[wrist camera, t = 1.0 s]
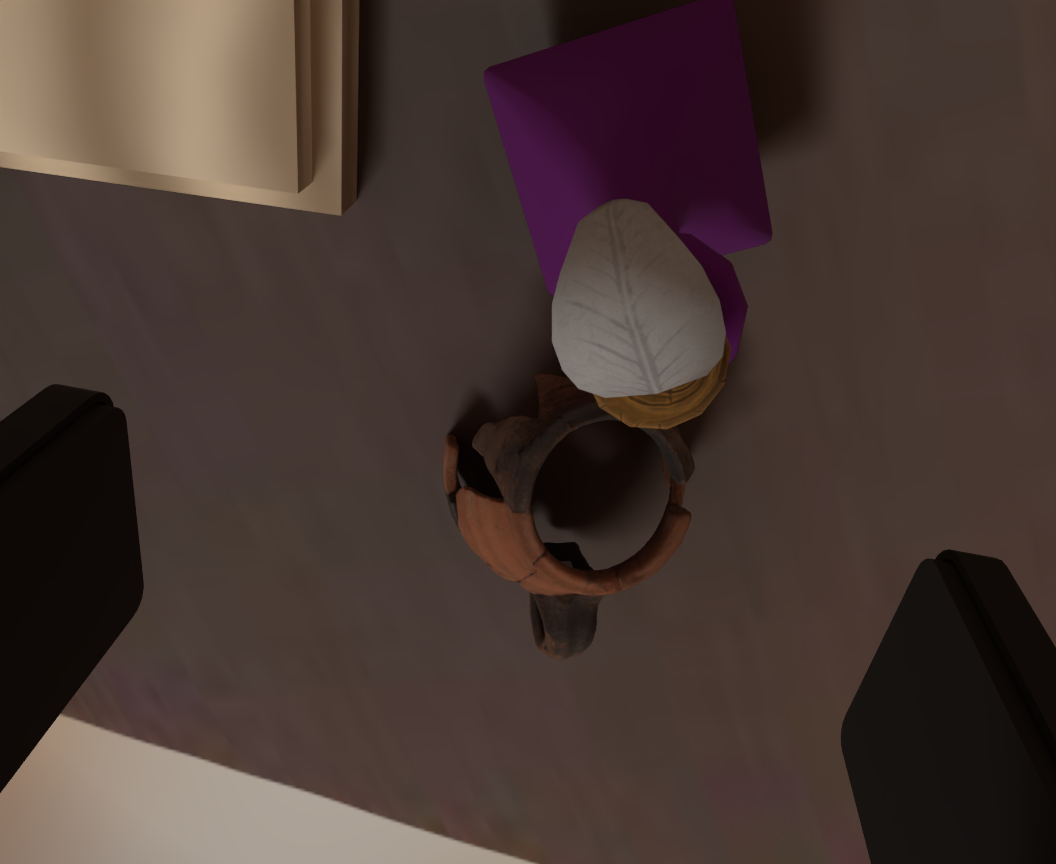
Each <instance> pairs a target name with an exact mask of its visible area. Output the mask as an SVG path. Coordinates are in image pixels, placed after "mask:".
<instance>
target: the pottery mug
mask: <svg viewBox="0 0 1056 864" xmlns="http://www.w3.org/2000/svg"><path fill="white" fill-rule="evenodd" d="M534 379H535V381H536V382H537V386H538V399H539V417H538V418H531V417H527V416H524V415H518V416H510V417H507V418H505V419H503V420H501V421H499V422H488V423H485V424H483V425H482V426H481V428H480V429H479V431H478V432H477V434H476V435H475V437H474V439H473V441H472V446H473V448H474V449H475V450H477V451H478V452H479V453H480V455H482V456H484V460H485V464H486V466H487V468H488V470H489V472H490V473H491V475H492V476H493V477H494V479H495V481H496V483H497V485H498V487H499V489H500V491H501V494H502V496H503V498H494V497H490V496H487V495H484V494H482V493H480V492H479V491H477V490H476V489H474V488H471V487H464V488H461V485H460V483H459V479H458V475H457V466H458V457H459V446H458V444H457V439H456V437H455V436H454V435H452V434H449V435H447V437H446V439H445V445H444V456H443V470H444V486H445V489H446V496H447V499H448V505H449V508H450V512H451V514H452V516H453V518H454V520H455V522H456V525H457V527H458V528H459V530H460V532H461V533H462V535H463V537H464V539H465V541H466V542H467V544H468V545H469V546H470V548H471V549H472V550H473V552H474V553H476V554H478V555H479V557H480V558H481V559H482V560H483V561H485V562H486V563H487V565H488V566H489V567H490V568H491V569H492V570H493V571H494V572H496V573H497V574H498V575H500V576H502V577H503V578H504V579H506V580H508V581H510V582H518V583H519V584H520V586H521V587H522V588H524V589H526V590H527V591H529V594H530V614H531V622H532V629H533V635H534V638H535V643H536V646H537V647H538V649H539V650H541V651H542V652H543V653H544V654H545V655H547V656H548V657H551V658H554V659H556V660H564V659H567V658H569V657H576V656H578V655H580V654H581V653H582V652H583V651H584V650H586V649H587V648H588V647H589V646H590V644H591V643H592V641H593V638H594V634H595V631H596V625H597V609H598V605H599V603H600V601H601V599H602V598H603V597H604V596H605V595H608V594H614V593H619V592H621V591H623V590H626V589H629V588H630V587H632V586H635V585H637V584H639V583H640V582H642V581H644V580H645V579H647V578H648V577H650V576H652V575H653V574H654V573H655V572H657V571H658V570H659V569H660V568H661V567H662V566H664V565H665V563H666V561H668V559H669V558H670V557H671V556H672V555H673V554H674V552H675V551H676V549H677V548H678V547H679V545H680V544H681V542H682V540H683V538H684V536H685V533H686V531H687V529H688V526H689V524H690V520H691V513H690V512H689V511H687V510H686V509H685V508H682V507H681V506H682V498H683V495H684V490H685V484H686V483H687V482H688V480H689V478H690V477H691V475H692V473H693V471H694V468H695V466H694V461H693V458H692V456H691V453H690V451H689V448H688V447H687V444H686V443H685V441H684V440H683V438H682V437H681V434H680V431H679V429H678V428H677V426H673V427H671V428H669V429H654V428H641V427H639V428H640V429H642V430H643V431H645V432H646V433H647V434H648V435H650V436H651V437H652V438H653V440H654V441H655V442H656V443H657V445H658V446H659V448H660V450H661V452H662V462H663V471H664V477H665V481H666V483H667V486H668V487H670V494H669V501H668V503H667V506H666V508H665V512H664V515H663V517H662V519H661V522H660V524H659V525H658V527H657V529H656V531H655V533H654V534H653V536H652V537H651V538H650V540H649V541H648V542H647V543H646V544H645V546H644V547H643V548H642V549H641V550H639V551H638V552H637V553H636V554H635V555H633V556H632V557H630V558H629V559H627V560H626V561H624V562H622V563H620V564H618V565H615V566H613V567H610V568H608V569H603V570H593V569H592V568H591V567H590V566H589V564H588V562H587V561H586V559H585V558H584V556H583V555H582V553H581V551H580V549H579V546H578V544H577V543H575V542H567V543H548V542H546V543H543V542H542V541H541V539H540V537H539V535H538V532H537V530H536V527H535V522H534V517H533V511H532V508H531V502H532V495H533V489H534V484H535V481H536V477H537V475H538V472H539V470H540V468H541V466H542V464H543V463H544V461H545V459H546V458H547V456H548V455H549V453H550V452H551V451H552V449H553V448H554V447H555V446H556V445H557V444H558V443H559V442H560V441H561V440H562V439H563V438H564V437H565V436H566V435H567V434H568V433H569V432H572V431H574V430H576V429H578V428H580V427H582V426H585V425H589V424H591V423H594V422H598V421H604V420H617V421H620V420H619V419H617V418H615V417H614V416H612V415H611V414H609V413H608V412H606V411H605V410H603V409H601V408H600V407H599V405H598V403H597V401H596V399H595V397H594V395H593V393H590V392H587V391H584V390H581V389H578V388H577V386H576V385H575V384H574V383H573V382H572V381H571V380H570V378H569V377H565V376H556V375H553V374H535V376H534Z"/></svg>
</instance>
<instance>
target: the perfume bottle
mask: <svg viewBox="0 0 1056 864" xmlns="http://www.w3.org/2000/svg"><path fill="white" fill-rule="evenodd" d="M484 82H485V85H486V88H487V92H488V95H489V98H490V102H491V105H492V108H493V112H494V115H495V118H496V122H497V125H498V128H499V131H500V135H501V138H502V141H503V145H504V148H505V151H506V155H507V158H508V161H509V164H510V168H511V171H512V174H513V178H514V181H515V184H516V188H517V191H518V194H519V197H520V201H521V204H522V207H523V211H524V214H525V217H526V221H527V224H528V227H529V231H530V234H531V237H532V240H533V244H534V247H535V250H536V254H537V257H538V260H539V264H540V267H541V270H542V273H543V277H544V280H545V283H546V287H547V290H548V292H549V293H550V294H551V295H552V296H554V298H553V302H552V343H553V346H554V349H555V351H556V354H557V357H558V360H559V362H560V365H561V368H562V371H563V372H564V373H565V374H566V375H567V376H568V377H569V378H570V380H571V381H572V382H573V383H574V384H575V385H576V386H577V388H578V389H581V390H584V391H587V392H590V393H593V395H594V397H595V399H596V401H597V403H598V405H599V407H600V408H601V409H603V410H605V411H606V412H608V413H609V414H611V415H612V416H614V417H615V418H617V419H619V420H620V421H622V422H623V423H625V424H626V425H628V426H629V427H641V428H654V429H669V428H671V427H673V426H676V425H678V424H680V423H683V422H685V421H687V420H690V419H692V418H694V417H697V416H699V415H701V414H702V413H703V412H704V410H705V409H706V408H707V407H708V405H709V404H710V403H711V402H712V400H713V399H714V398H715V397H716V395H717V394H718V393H719V391H720V390H721V389H722V388H723V386H724V385H725V381H726V376H727V370H728V365H729V363H730V362H731V361H732V360H733V359H734V358H735V357H736V355H737V352H738V348H739V343H740V339H741V334H742V330H743V326H744V321H745V317H746V312H747V308H748V305H747V302H746V300H745V297H744V294H743V292H742V289H741V286H740V284H739V281H738V278H737V276H736V273H735V270H734V268H733V265H732V263H731V262H730V261H729V260H727V259H726V258H724V257H723V256H721V255H724V254H728V253H732V252H736V251H740V250H744V249H748V248H752V247H756V246H760V245H764V244H766V243H767V242H769V241H770V240H771V238H772V228H771V222H770V216H769V210H768V204H767V198H766V192H765V186H764V180H763V173H762V167H761V161H760V155H759V149H758V143H757V137H756V131H755V125H754V119H753V113H752V107H751V101H750V95H749V89H748V83H747V77H746V71H745V65H744V59H743V53H742V47H741V41H740V35H739V29H738V23H737V17H736V11H735V5H734V0H697V1H694V2H691V3H688V4H685V5H682V6H679V7H675V8H672V9H669V10H666V11H663V12H660V13H657V14H654V15H650V16H647V17H644V18H641V19H638V20H635V21H632V22H629V23H625V24H622V25H619V26H616V27H613V28H610V29H607V30H604V31H600V32H597V33H594V34H591V35H588V36H585V37H582V38H579V39H575V40H572V41H569V42H566V43H563V44H560V45H557V46H554V47H550V48H547V49H544V50H541V51H538V52H535V53H532V54H529V55H525V56H522V57H519V58H516V59H513V60H510V61H507V62H504V63H500V64H497V65H494V66H491V67H489V68H488V69H487V70H485V71H484Z"/></svg>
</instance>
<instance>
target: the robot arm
mask: <svg viewBox="0 0 1056 864" xmlns="http://www.w3.org/2000/svg"><path fill="white" fill-rule="evenodd" d="M143 589H144V582H143V572H142V563H141V554H140V544H139V535H138V525H137V516H136V506H135V497H134V488H133V478H132V469H131V459H130V450H129V441H128V431H127V422H126V417H125V414H124V412H123V411H122V410H121V409H119V408H116V407H114V406H113V402H112V400H111V399H110V397H109V396H108V395H107V394H105V393H103V392H97V391H92V390H87V389H81V388H76V387H70V386H65V385H60V384H53V385H50V386H48V387H46V388H45V389H43V390H42V391H41V392H39V393H38V394H37V395H35V396H34V397H33V398H31V399H30V400H29V401H27V402H26V403H25V404H23V405H22V406H21V407H19V408H18V409H17V410H15V411H14V412H13V413H11V414H10V415H9V416H7V417H6V418H5V419H3V420H2V421H0V793H1V791H2V790H3V789H4V787H5V786H6V785H7V783H8V782H9V781H10V779H11V778H12V777H13V776H14V774H15V773H16V772H17V770H18V769H19V768H20V766H21V765H22V763H23V762H24V761H25V760H26V758H27V757H28V756H29V754H30V753H31V751H32V750H33V749H34V748H35V746H36V745H37V744H38V742H39V741H40V740H41V738H42V737H43V736H44V734H45V733H46V732H47V730H48V729H49V728H50V726H51V725H52V724H53V722H54V721H55V720H56V718H57V717H58V716H59V714H60V713H61V712H62V710H63V709H64V708H65V706H66V705H67V704H68V702H69V701H70V700H71V698H72V697H73V696H74V694H75V693H76V692H77V690H78V689H79V688H80V686H81V685H82V684H83V683H84V681H85V680H86V679H87V677H88V676H89V675H90V673H91V672H92V671H93V669H94V668H95V667H96V665H97V664H98V663H99V661H100V660H101V659H102V657H103V656H104V655H105V653H106V652H107V651H108V649H109V648H110V647H111V645H112V644H113V643H114V641H115V640H116V639H117V637H118V636H119V635H120V633H121V632H122V631H123V629H124V628H125V627H126V625H127V624H128V623H129V621H130V620H131V619H132V617H133V616H134V614H135V613H136V611H137V609H138V607H139V605H140V602H141V599H142V595H143ZM841 746H842V752H843V756H844V760H845V764H846V768H847V771H848V775H849V779H850V783H851V787H852V791H853V795H854V799H855V803H856V806H857V810H858V814H859V818H860V822H861V826H862V830H863V834H864V838H865V841H866V845H867V849H868V853H869V857H870V861H871V864H1056V647H1055V646H1054V644H1053V642H1052V641H1051V639H1050V637H1049V636H1048V634H1047V632H1046V631H1045V629H1044V627H1043V626H1042V624H1041V622H1040V621H1039V619H1038V617H1037V616H1036V614H1035V612H1034V611H1033V609H1032V607H1031V606H1030V604H1029V602H1028V601H1027V599H1026V597H1025V596H1024V594H1023V592H1022V591H1021V589H1020V587H1019V586H1018V584H1017V582H1016V581H1015V579H1014V577H1013V576H1012V574H1011V572H1010V571H1009V569H1008V567H1007V566H1006V565H1005V564H1004V563H1003V561H1002V560H999V559H997V558H992V557H987V556H982V555H976V554H971V553H966V552H960V551H955V550H944V551H942V552H941V553H940V554H939V555H938V556H937V557H936V559H935V560H934V559H925V560H924V561H922V562H921V563H920V565H919V566H918V568H917V570H916V572H915V574H914V576H913V578H912V580H911V582H910V584H909V586H908V588H907V590H906V592H905V594H904V597H903V599H902V601H901V603H900V605H899V607H898V609H897V611H896V613H895V615H894V617H893V619H892V621H891V623H890V625H889V627H888V629H887V631H886V633H885V635H884V638H883V640H882V642H881V644H880V646H879V648H878V650H877V652H876V654H875V656H874V658H873V660H872V662H871V664H870V666H869V668H868V670H867V672H866V674H865V677H864V679H863V681H862V683H861V685H860V687H859V689H858V691H857V693H856V695H855V697H854V699H853V701H852V703H851V705H850V707H849V709H848V711H847V713H846V715H845V718H844V721H843V725H842V731H841Z"/></svg>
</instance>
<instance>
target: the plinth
mask: <svg viewBox="0 0 1056 864" xmlns="http://www.w3.org/2000/svg"><path fill="white" fill-rule="evenodd" d="M358 70H359V0H0V167H5V168H12V169H19V170H26V171H33V172H40V173H47V174H54V175H61V176H68V177H75V178H82V179H89V180H96V181H103V182H110V183H117V184H124V185H131V186H138V187H145V188H152V189H159V190H166V191H173V192H180V193H187V194H194V195H201V196H208V197H215V198H222V199H228V200H235V201H242V202H249V203H256V204H263V205H270V206H277V207H284V208H291V209H298V210H305V211H312V212H319V213H326V214H333V215H340V216H341V215H342V214H343V213H344V212H345V211H347V210H348V209H349V208H350V207H351V206H352V205H353V204H354V203H355V202H356V201H357V145H358Z"/></svg>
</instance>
